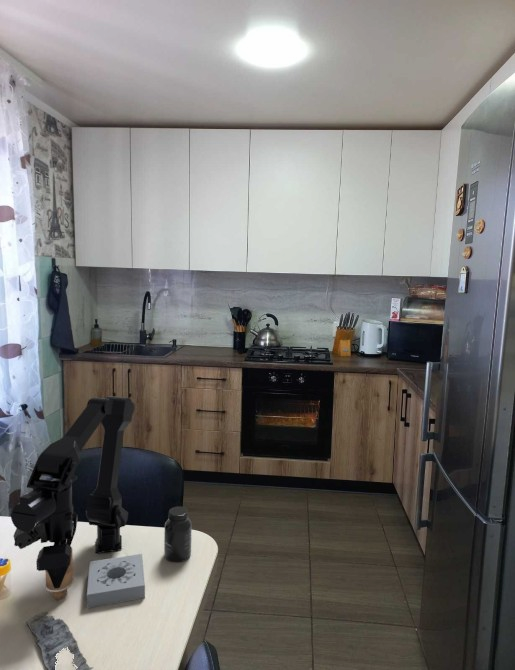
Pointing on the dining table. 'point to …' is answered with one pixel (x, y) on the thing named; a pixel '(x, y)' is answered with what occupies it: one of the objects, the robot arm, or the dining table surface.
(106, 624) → the dining table surface
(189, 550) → the supplement bottle
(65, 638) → the driftwood
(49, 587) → the peg
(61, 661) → the dining table surface
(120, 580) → the board
